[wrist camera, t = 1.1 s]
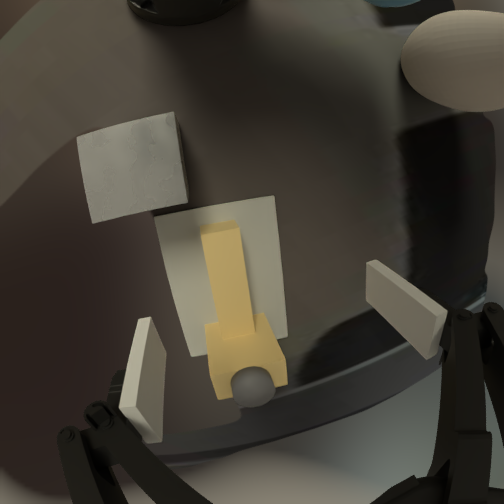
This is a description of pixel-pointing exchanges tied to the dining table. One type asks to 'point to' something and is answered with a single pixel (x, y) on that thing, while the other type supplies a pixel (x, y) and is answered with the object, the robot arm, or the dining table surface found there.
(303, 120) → the dining table surface
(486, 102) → the vase
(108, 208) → the grey slotted block
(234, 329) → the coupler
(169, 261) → the mat
